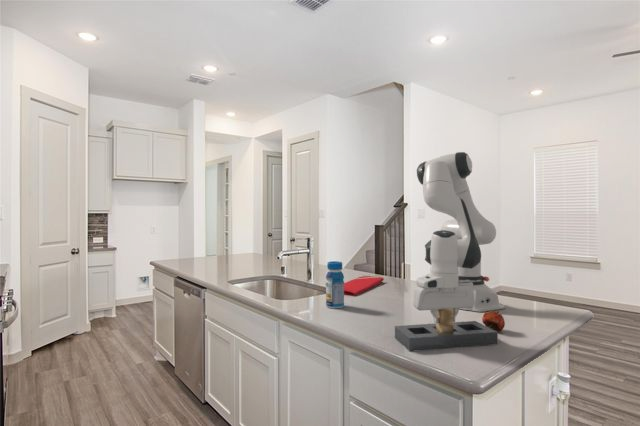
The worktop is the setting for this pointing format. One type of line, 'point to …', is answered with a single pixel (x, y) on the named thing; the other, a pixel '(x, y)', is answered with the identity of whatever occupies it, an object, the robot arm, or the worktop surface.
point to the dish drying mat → (361, 285)
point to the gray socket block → (445, 336)
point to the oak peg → (445, 320)
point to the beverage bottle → (334, 285)
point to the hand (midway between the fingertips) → (444, 322)
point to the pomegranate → (493, 320)
